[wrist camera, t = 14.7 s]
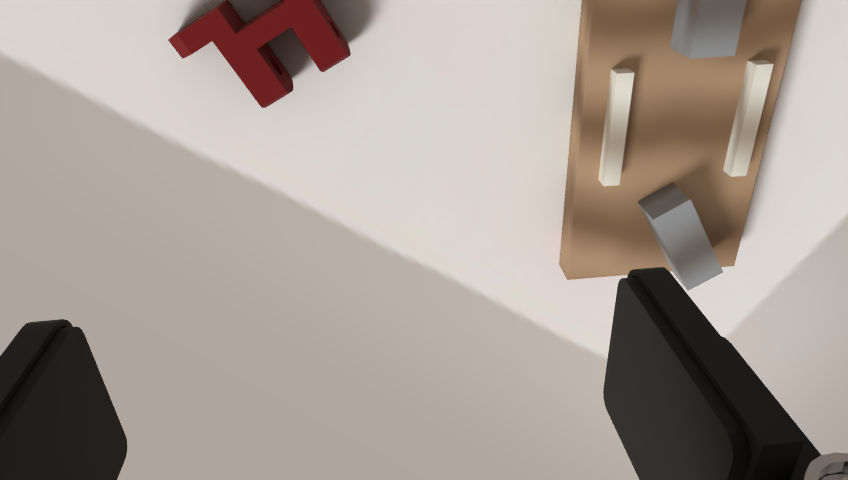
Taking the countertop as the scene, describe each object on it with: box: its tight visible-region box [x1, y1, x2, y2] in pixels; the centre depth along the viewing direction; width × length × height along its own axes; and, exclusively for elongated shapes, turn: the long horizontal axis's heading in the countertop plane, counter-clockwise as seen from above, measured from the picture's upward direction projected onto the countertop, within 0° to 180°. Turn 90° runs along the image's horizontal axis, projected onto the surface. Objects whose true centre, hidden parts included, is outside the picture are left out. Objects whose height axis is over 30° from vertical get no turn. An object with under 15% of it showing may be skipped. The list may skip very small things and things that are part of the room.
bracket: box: [169, 0, 350, 108], centre depth 34 cm, size 3×6×10 cm
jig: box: [559, 0, 801, 290], centre depth 38 cm, size 22×12×4 cm, turn 2°
